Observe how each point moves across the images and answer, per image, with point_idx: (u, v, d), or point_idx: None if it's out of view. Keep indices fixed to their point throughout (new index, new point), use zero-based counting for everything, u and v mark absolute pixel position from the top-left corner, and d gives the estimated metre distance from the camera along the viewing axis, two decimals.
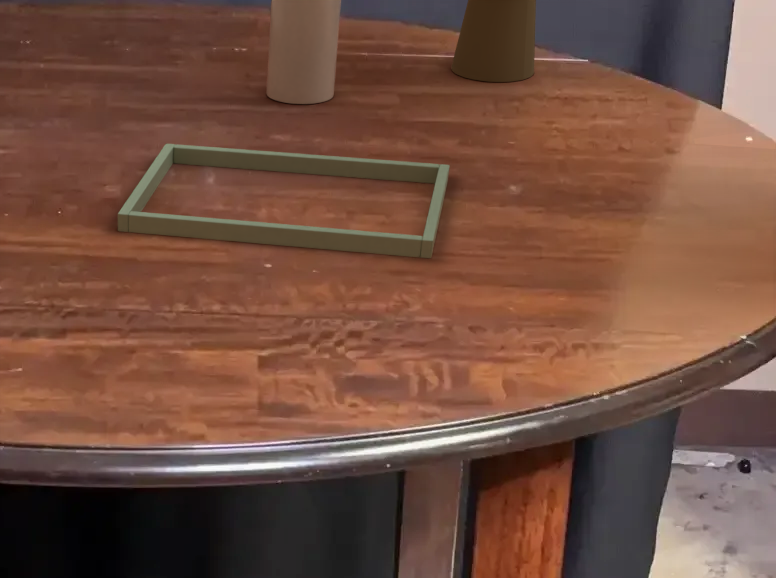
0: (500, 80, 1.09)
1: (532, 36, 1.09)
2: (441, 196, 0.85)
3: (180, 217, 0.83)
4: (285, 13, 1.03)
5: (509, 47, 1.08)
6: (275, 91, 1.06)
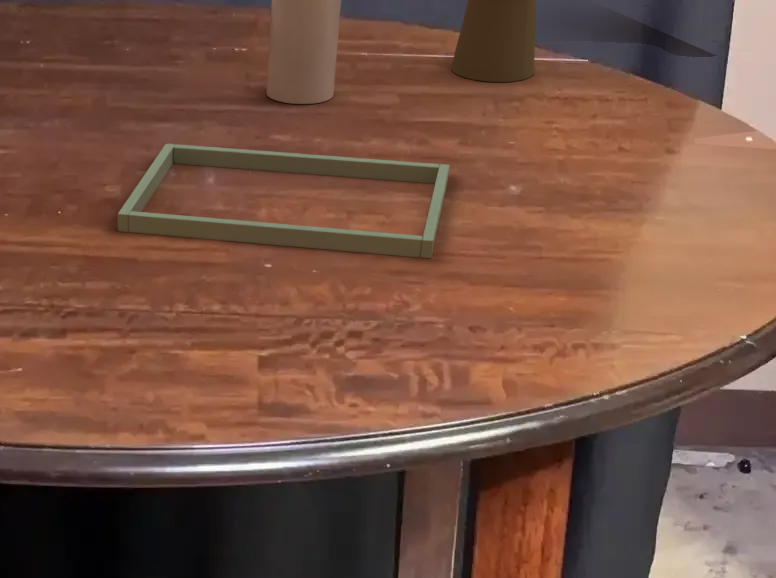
0: (500, 80, 1.09)
1: (532, 36, 1.09)
2: (441, 196, 0.85)
3: (180, 217, 0.83)
4: (285, 13, 1.03)
5: (509, 47, 1.08)
6: (275, 91, 1.06)
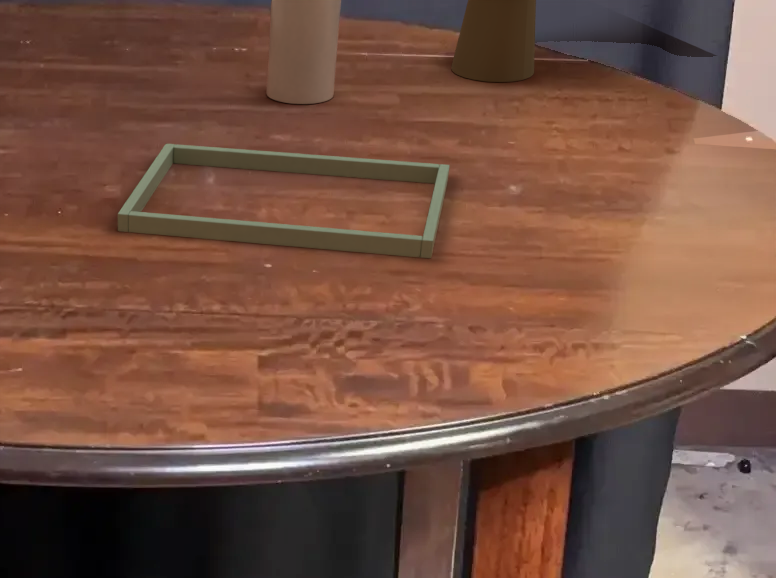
0: (500, 80, 1.09)
1: (532, 36, 1.09)
2: (441, 196, 0.85)
3: (180, 217, 0.83)
4: (285, 13, 1.03)
5: (509, 47, 1.08)
6: (275, 91, 1.06)
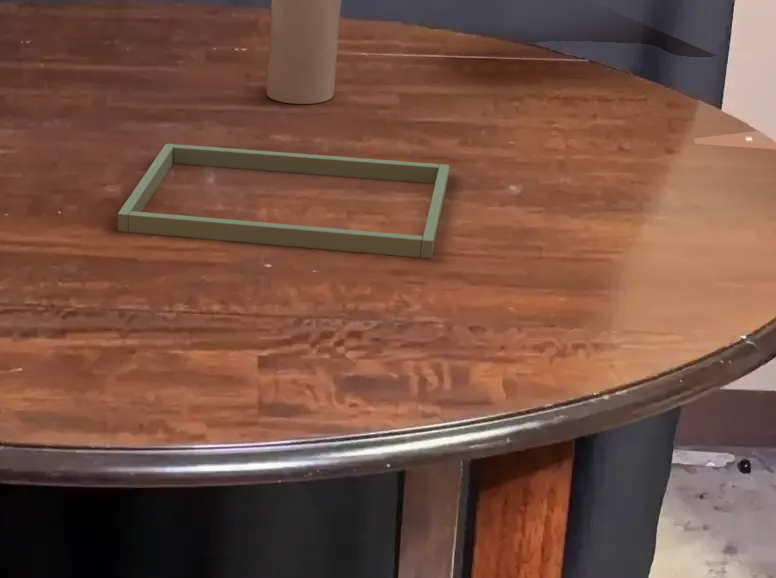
0: None
1: None
2: (441, 196, 0.85)
3: (180, 217, 0.83)
4: (285, 13, 1.03)
5: None
6: (275, 91, 1.06)
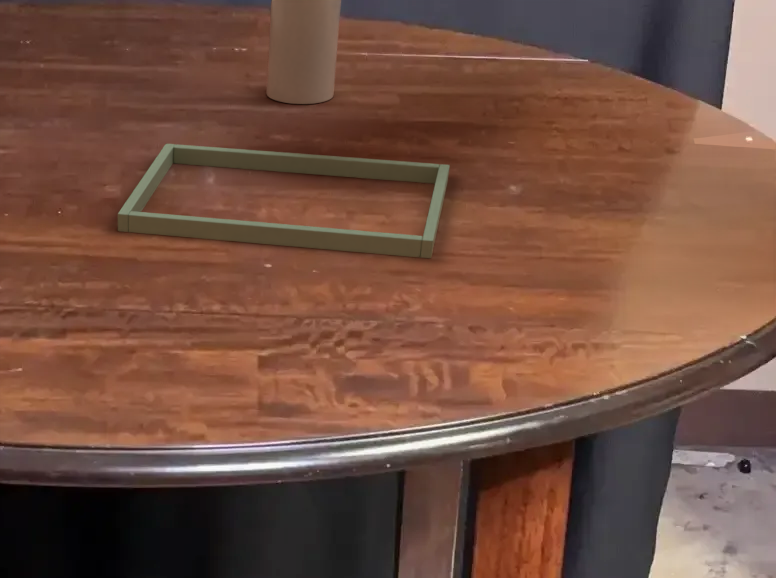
0: None
1: None
2: (441, 196, 0.85)
3: (180, 217, 0.83)
4: (285, 13, 1.03)
5: None
6: (275, 91, 1.06)
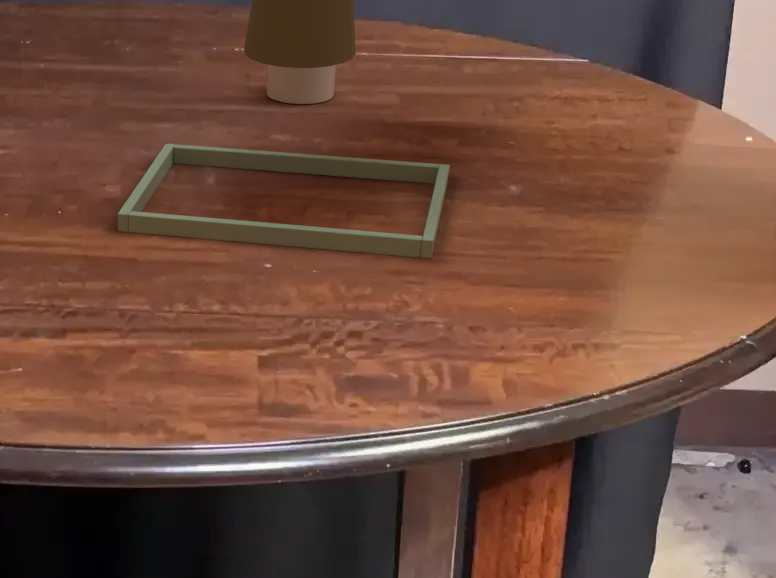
0: (329, 64, 0.80)
1: None
2: (441, 196, 0.85)
3: (180, 217, 0.83)
4: None
5: (335, 17, 0.79)
6: (275, 91, 1.06)
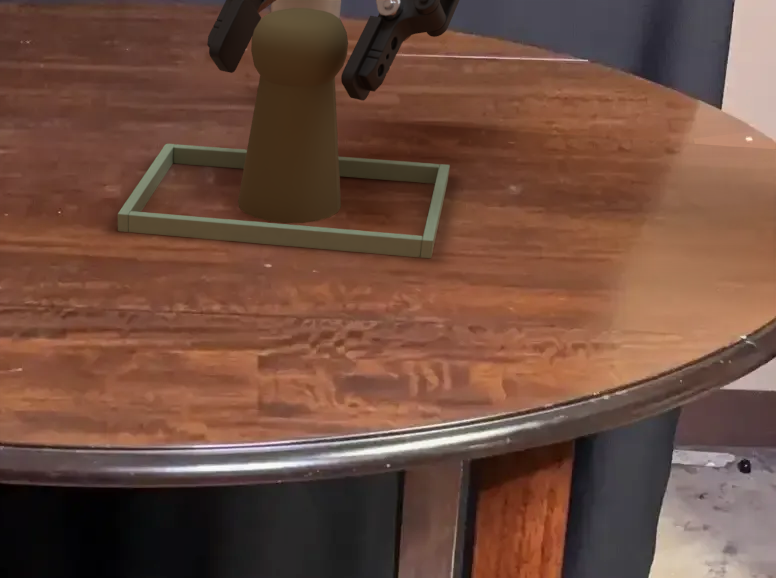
0: None
1: (338, 166, 0.85)
2: (441, 196, 0.85)
3: (180, 217, 0.83)
4: None
5: (322, 186, 0.84)
6: None
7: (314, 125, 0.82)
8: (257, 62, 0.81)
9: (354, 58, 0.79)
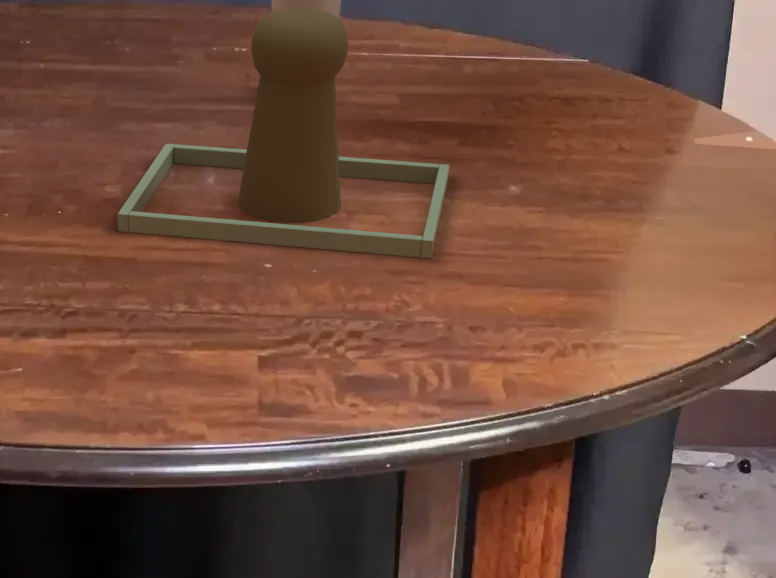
0: None
1: (338, 166, 0.85)
2: (441, 196, 0.85)
3: (180, 217, 0.83)
4: None
5: (322, 186, 0.84)
6: None
7: (314, 125, 0.82)
8: (257, 62, 0.81)
9: None
